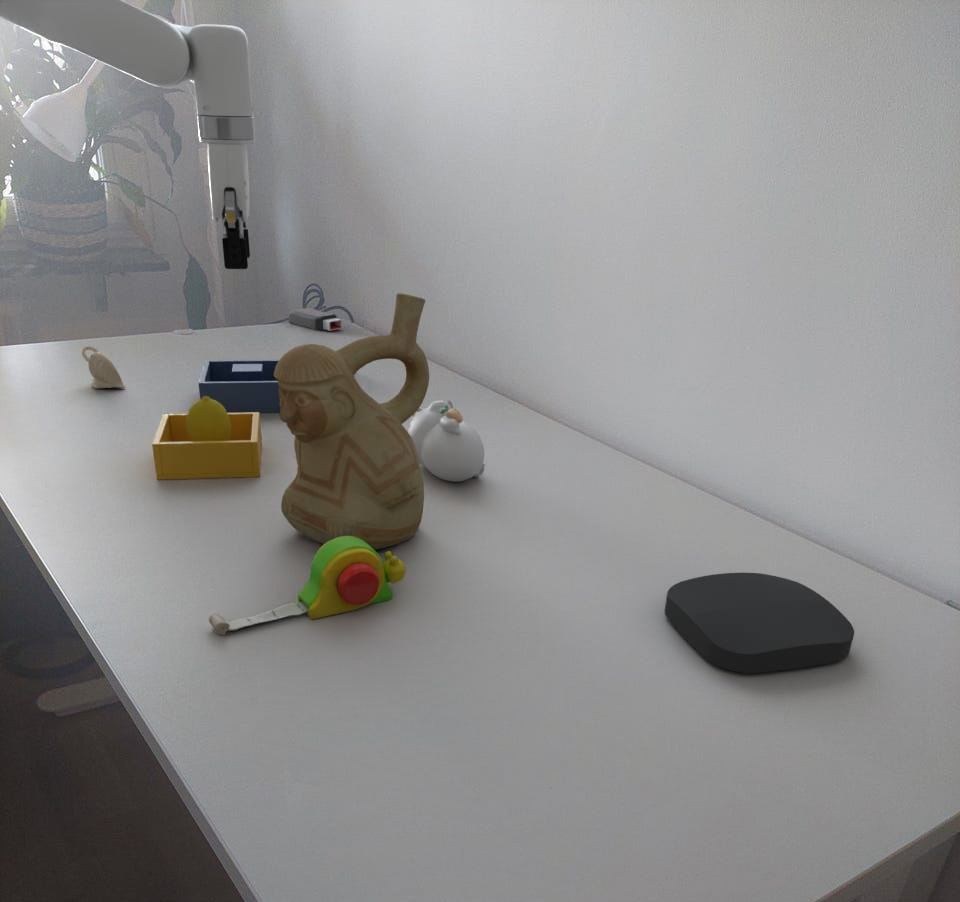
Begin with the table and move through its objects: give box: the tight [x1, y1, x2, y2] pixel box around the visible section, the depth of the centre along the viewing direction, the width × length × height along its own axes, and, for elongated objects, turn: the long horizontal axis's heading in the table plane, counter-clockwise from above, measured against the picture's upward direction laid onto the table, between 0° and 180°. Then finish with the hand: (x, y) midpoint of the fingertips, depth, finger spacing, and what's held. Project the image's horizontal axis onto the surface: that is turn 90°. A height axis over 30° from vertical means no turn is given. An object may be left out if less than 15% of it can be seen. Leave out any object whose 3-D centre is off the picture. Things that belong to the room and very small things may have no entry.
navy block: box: [232, 364, 264, 381], centre depth 150 cm, size 4×4×4 cm
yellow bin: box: [151, 412, 263, 481], centre depth 126 cm, size 13×13×5 cm
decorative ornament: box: [81, 346, 126, 390], centre depth 155 cm, size 4×8×5 cm, turn 37°
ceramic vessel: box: [274, 292, 430, 551], centre depth 102 cm, size 17×20×25 cm
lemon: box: [187, 396, 231, 442], centre depth 125 cm, size 6×6×8 cm
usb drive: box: [288, 307, 343, 332], centre depth 198 cm, size 5×12×3 cm, turn 47°
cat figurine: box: [407, 399, 486, 483], centre depth 125 cm, size 10×8×15 cm
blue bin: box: [197, 359, 281, 414], centre depth 150 cm, size 14×14×5 cm
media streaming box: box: [664, 572, 855, 674], centre depth 91 cm, size 15×15×3 cm
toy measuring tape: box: [208, 536, 407, 636], centre depth 91 cm, size 6×19×7 cm, turn 120°
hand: (237, 263), depth 141 cm, fingers open, 9 cm apart
